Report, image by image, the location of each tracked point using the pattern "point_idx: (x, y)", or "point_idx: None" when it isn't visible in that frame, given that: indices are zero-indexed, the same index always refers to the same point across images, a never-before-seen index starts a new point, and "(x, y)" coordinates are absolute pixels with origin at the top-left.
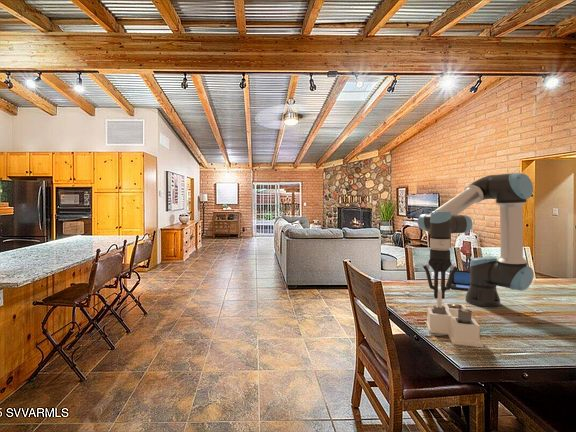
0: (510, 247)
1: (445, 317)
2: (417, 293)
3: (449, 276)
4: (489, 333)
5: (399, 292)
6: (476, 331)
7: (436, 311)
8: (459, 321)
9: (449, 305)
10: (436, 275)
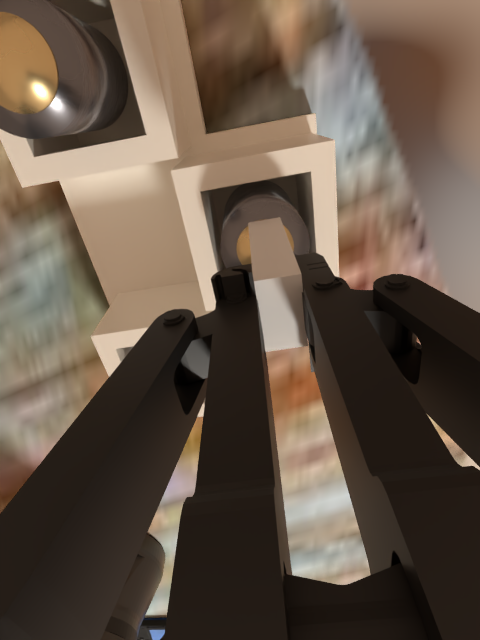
0: None
1: (217, 159)
2: (335, 560)
3: (120, 500)
4: (20, 255)
5: None
6: None
7: (284, 200)
8: (99, 38)
9: None
10: (404, 446)
